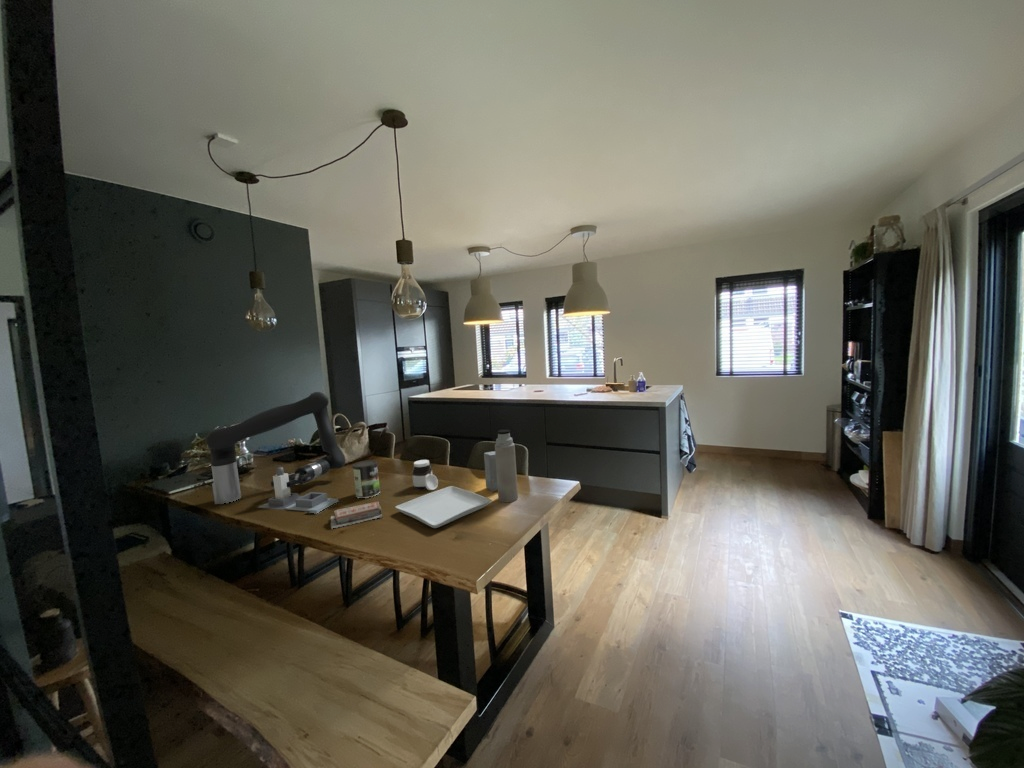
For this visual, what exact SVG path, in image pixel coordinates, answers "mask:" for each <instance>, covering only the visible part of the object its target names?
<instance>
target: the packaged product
mask: <svg viewBox="0 0 1024 768" xmlns="http://www.w3.org/2000/svg"><path fill="white" fill-rule="evenodd" d="M377 518H380V519H383V513H382V507H381V505H380V502H379V501H373V502H368V503H363V504H359V505H354V506H349V507H344V508H339V509H335V510H334V511H333V515H331V516H330V529H331V530H334V529H333V528H336V529H339V528H338V527H340V528H342V527H343V526H344V527H348V526H347V525H349V526H353V525H356V524H355V523H358V524H361V523H360V522H363V521H367V520H371V521H373V520H372V519H375V520H378V519H377ZM367 522H368V521H367ZM363 523H364V522H363ZM352 524H353V525H352ZM344 527H343V528H344Z"/></svg>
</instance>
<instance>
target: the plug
mask: <svg viewBox="0 0 1024 768" xmlns="http://www.w3.org/2000/svg"><path fill="white" fill-rule="evenodd" d="M275 469H276V471H275V472H276V474H275V475H272V479H273V480H272V481H274V486H273V488H274V494H275V495H274V496H275V497H276V499H285V498H287V497H289V496H291V493H292V492H291V487H287V484H286V483H287V482H289V477H288V475H289V473H287V472H286V473H285V472H284V467H283V466H280V467H276V468H275Z"/></svg>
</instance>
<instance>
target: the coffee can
mask: <svg viewBox="0 0 1024 768" xmlns="http://www.w3.org/2000/svg"><path fill="white" fill-rule="evenodd" d="M378 467H379V466H378V461H377V460H375V459H374V460H373V459H371V460H370V459H368V460H361V461H358V462H356V463H353V464H352V471H353V479H354V480H353V482H354V490H355V497H357V499H359V498H365V499H370V498H369V497H371V498H373V496H374V497H376V495H377V496H379V495H380V494H381V489H380V479H379V469H378ZM379 493H380V494H379Z"/></svg>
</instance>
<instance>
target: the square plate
mask: <svg viewBox="0 0 1024 768" xmlns="http://www.w3.org/2000/svg"><path fill="white" fill-rule="evenodd" d="M492 501H493V499H490V498H488V497H486V496H483V495H481V494H478V493H475V492H473V491H469V490H466V489H464V488H459V487H457V486H453V485H450V486H447V487H443V488H441V489H438V490H435V491H434V490H433V491H432V492H429V493H426V494H424V495H421V496H418V497H415V498H413V499H410V500H409V501H405V502H403V503H400V504H398V505H396V506H394V509H396V510H398V511H399V512H400V513H402V514H403V515H406V516H408V517H409V518H410V517H411V518H413V519H415V520H417V521H419V522H421V523H423V524H425V525H426V526H428V527H431V528H433V529H437V528H440V527H443V526H445V525H447V524H449V523H451V522H454V521H456V520H458V519H460V518H463V517H465V516H467V515H469V514H472V513H474V512H476V511H479V510H481V509H484V508H485V507H486V506H488V505H489V504H490V503H491V502H492Z"/></svg>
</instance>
